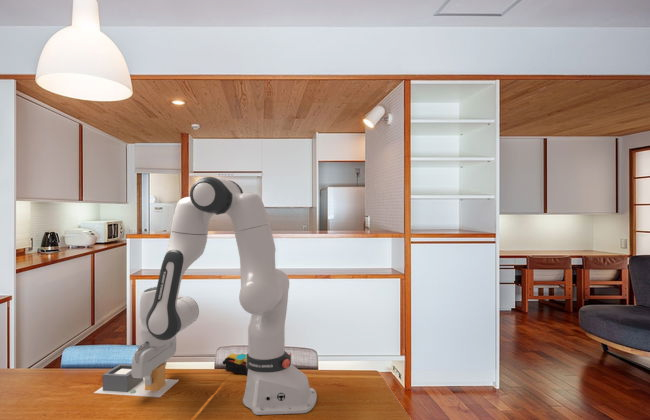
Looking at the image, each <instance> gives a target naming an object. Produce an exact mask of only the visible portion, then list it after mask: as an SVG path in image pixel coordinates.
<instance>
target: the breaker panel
mask: <svg viewBox="0 0 650 420" xmlns="http://www.w3.org/2000/svg"><path fill="white" fill-rule="evenodd" d="M120 369H132V364H127V363H125V364H124V363H119V364H118V365H116V366H115V367H113V368H111V369H109V370H108V371H106V372H105V373H103V374H102V386H101V387H100V388H99V389H97V390H96V391H94V392H93V394H100V395H101V394H105V395H116V396H117V395H119V396H120V395H121V396H135V397H148V398H161V397H162V396H164V394H165V393H166V392H168V390H170V389H171V388H172V387H173V386H175V385H176V384H177V383H178V382H179V380H180V379H171V378H165V385H164V386H163V387H162V388H161V389H159V390H158V391H152V390H145V379H144V378H133V377H132V375H131V372H130V373H128V374H127V375H124V374H114V373H116V372H117V371H119V370H120Z"/></svg>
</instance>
